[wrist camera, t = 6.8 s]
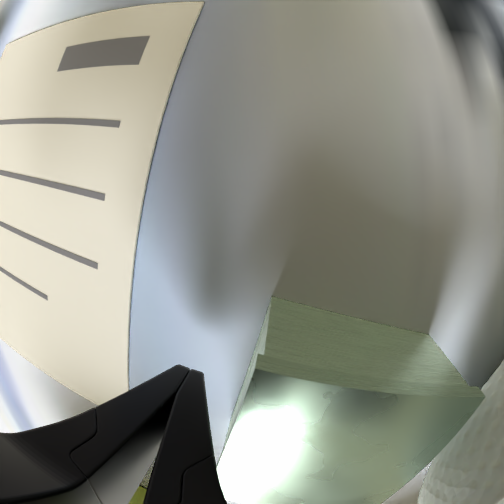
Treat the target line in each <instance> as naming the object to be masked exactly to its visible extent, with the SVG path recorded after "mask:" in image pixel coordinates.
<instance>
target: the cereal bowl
mask: <svg viewBox="0 0 504 504" xmlns="http://www.w3.org/2000/svg"><path fill="white" fill-rule="evenodd" d="M481 391H482V392H483V394H484V395H485V396H486V397H485V398H484V400H483V401H482V403H481V404H480V405H479V407H478V408H477V409H476V411H475V412H474V413H473V415H472V416H471V417H470V418H469V420H468V421H467V422H466V423H465V425H464V426H463V427H462V428H461V429H460V431H459V432H458V433H457V434H456V435H455V436H454V437H453V439H452V440H451V441H450V442H449V443H448V444H447V445H446V446H445V447H444V448H443V449H442V451H441V452H440V453H439V454H438V455H437V456H436V457H435V458H434V459H433V461H432V463H431V466H430V468H429V469H428V472H427V475H426V477H425V478H424V481H423V484H422V488H421V489H420V493H419V497H418V502H417V504H504V360H503V361H502V362H501V364H500V366H499V367H498V368H497V369H496V370H495V372H494V373H493V375H492V376H491V377H490V378H489V380H488V381H487V382H486V383H485V384H484V385H483V387H482V389H481Z"/></svg>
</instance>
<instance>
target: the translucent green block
mask: <svg viewBox="0 0 504 504" xmlns="http://www.w3.org/2000/svg"><path fill="white" fill-rule="evenodd" d="M485 397H486V396H485V395H484V394H483V392H482V391H481V390H480V388H479V387H478V386H469V385H468V384H467V383H466V381H465V380H464V379H463V377H462V376H461V375H460V373H459V372H458V371H457V369H456V368H455V367H454V366H453V364H452V363H451V362H450V360H449V359H448V358H447V357H446V355H445V354H444V353H443V351H442V350H441V349H440V348H439V346H438V345H437V344H436V343H435V342H434V340H433V339H432V338H431V337H430V335H429V334H425V333H421V332H416V331H411V330H407V329H402V328H398V327H393V326H389V325H385V324H380V323H376V322H372V321H367V320H363V319H359V318H355V317H351V316H347V315H343V314H339V313H335V312H331V311H327V310H323V309H319V308H315V307H311V306H307V305H303V304H300V303H296V302H292V301H288V300H285V299H281V298H277V297H274V296H272V297H271V300H270V303H269V306H268V310H267V313H266V316H265V319H264V322H263V325H262V328H261V331H260V335H259V338H258V341H257V344H256V347H255V350H254V353H253V356H252V359H251V362H250V365H249V368H248V371H247V374H246V377H245V380H244V382H243V385H242V388H241V391H240V394H239V397H238V400H237V403H236V405H235V408H234V411H233V414H232V417H231V420H230V424H229V428H228V432H227V436H226V440H225V443H224V447H223V450H222V453H221V455H220V458H219V460H218V463H217V465H216V467H217V472H218V477H219V481H220V485H221V488H222V491H223V494H224V497H225V500H229V501H234V502H239V503H244V504H381V503H382V502H384V501H385V500H386V499H388V498H389V497H390V496H392V495H393V494H394V493H395V492H397V491H398V490H399V489H400V488H402V487H403V486H404V485H405V484H406V483H408V482H409V481H410V480H411V479H412V478H413V477H415V476H416V475H417V474H418V473H419V472H420V471H421V470H422V469H423V468H424V467H425V466H426V465H428V464H429V463H430V462H431V461H432V460H433V459H434V458H435V457H436V456H437V455H438V454H439V453H440V452H441V451H442V449H443V448H444V447H445V446H446V445H447V444H448V443H449V442H450V441H451V440H452V439H453V437H454V436H455V435H456V434H457V433H458V432H459V431H460V429H461V428H462V427H463V426H464V425H465V423H466V422H467V421H468V420H469V418H470V417H471V416H472V415H473V413H474V412H475V411H476V409H477V408H478V407H479V405H480V404H481V403H482V401H483V400H484V398H485Z"/></svg>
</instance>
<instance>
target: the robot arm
mask: <svg viewBox="0 0 504 504" xmlns="http://www.w3.org/2000/svg"><path fill="white" fill-rule="evenodd" d="M155 457H156V460H155V463H154V467H153V470H152V473H151V477H150V480H149V484H148V487H147V491H146V494H145V498H144V502H143V504H227V502H226V500H225V497H224V494H223V491H222V488H221V485H220V481H219V477H218V472H217V467H216V462H215V457H214V450H213V443H212V437H211V430H210V422H209V415H208V407H207V399H206V390H205V381H204V374H203V373H202V372H200V371H197V370H194V369H191V370H190V369H189V368H188V367H185V366H182V365H176V366H174V367H172V368H170V369H168V370H166V371H165V372H163V373H161V374H159V375H157V376H155V377H154V378H152V379H150V380H148V381H146V382H144V383H142V384H140V385H138V386H137V387H135V388H133V389H131V390H129V391H127V392H125V393H123V394H121V395H119V396H117V397H115V398H113V399H111V400H109V401H107V402H105V403H103V404H101V405H99V406H96V409H95V408H92V409H90V410H88V411H86V412H83V413H81V414H79V415H76V416H74V417H72V418H69V419H66V420H63V421H60V422H57V423H53V424H50V425H46V426H43V427H39V428H35V429H31V430H27V431H23V432H18V433H0V504H129V502H130V500H131V498H132V497H133V495H134V493H135V492H136V490H137V488H138V487H139V485H140V483H141V482H142V480H143V478H144V476H145V475H146V473H147V471H148V470H149V468H150V466H151V464H152V463H153V461H154V459H155Z"/></svg>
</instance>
